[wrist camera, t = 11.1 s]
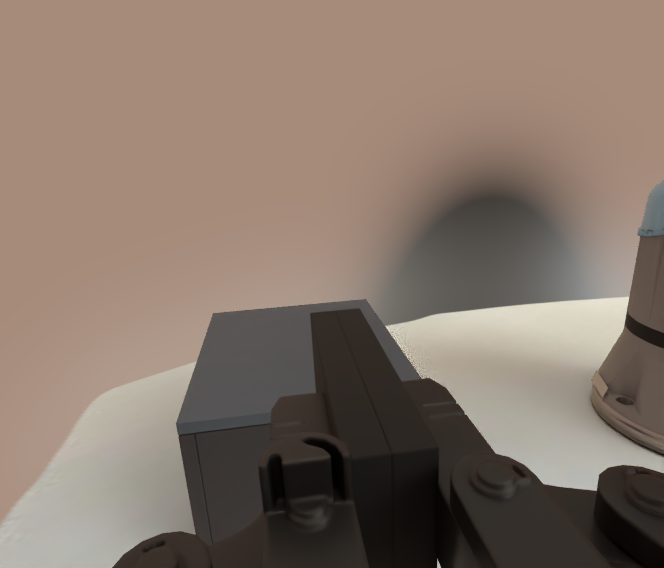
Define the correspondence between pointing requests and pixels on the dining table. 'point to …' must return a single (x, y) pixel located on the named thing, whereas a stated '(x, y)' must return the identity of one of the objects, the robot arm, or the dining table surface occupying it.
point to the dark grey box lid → (263, 364)
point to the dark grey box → (224, 478)
